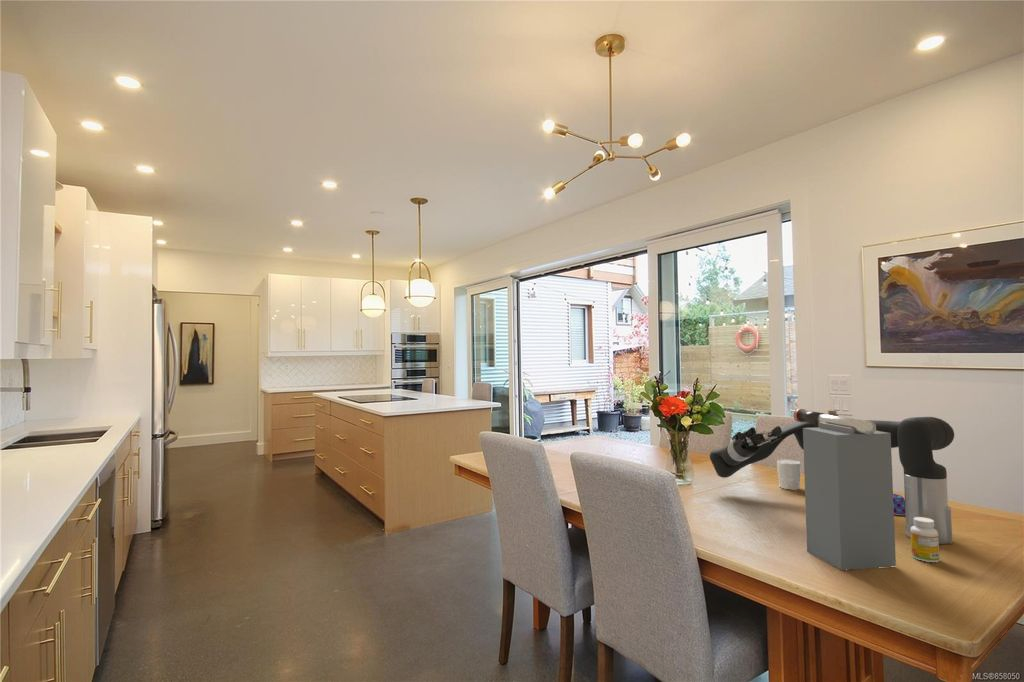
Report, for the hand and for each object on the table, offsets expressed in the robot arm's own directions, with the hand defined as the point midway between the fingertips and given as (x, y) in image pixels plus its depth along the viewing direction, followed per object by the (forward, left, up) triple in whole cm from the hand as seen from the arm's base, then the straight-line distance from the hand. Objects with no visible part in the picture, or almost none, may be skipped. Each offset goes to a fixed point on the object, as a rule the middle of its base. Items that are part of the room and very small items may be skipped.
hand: (767, 429), depth 159 cm
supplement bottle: (-33, +21, -28) cm, 48 cm away
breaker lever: (-14, +24, +4) cm, 29 cm away
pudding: (-36, -22, -28) cm, 51 cm away
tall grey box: (-16, +28, -28) cm, 43 cm away
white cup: (-8, -41, -28) cm, 50 cm away
